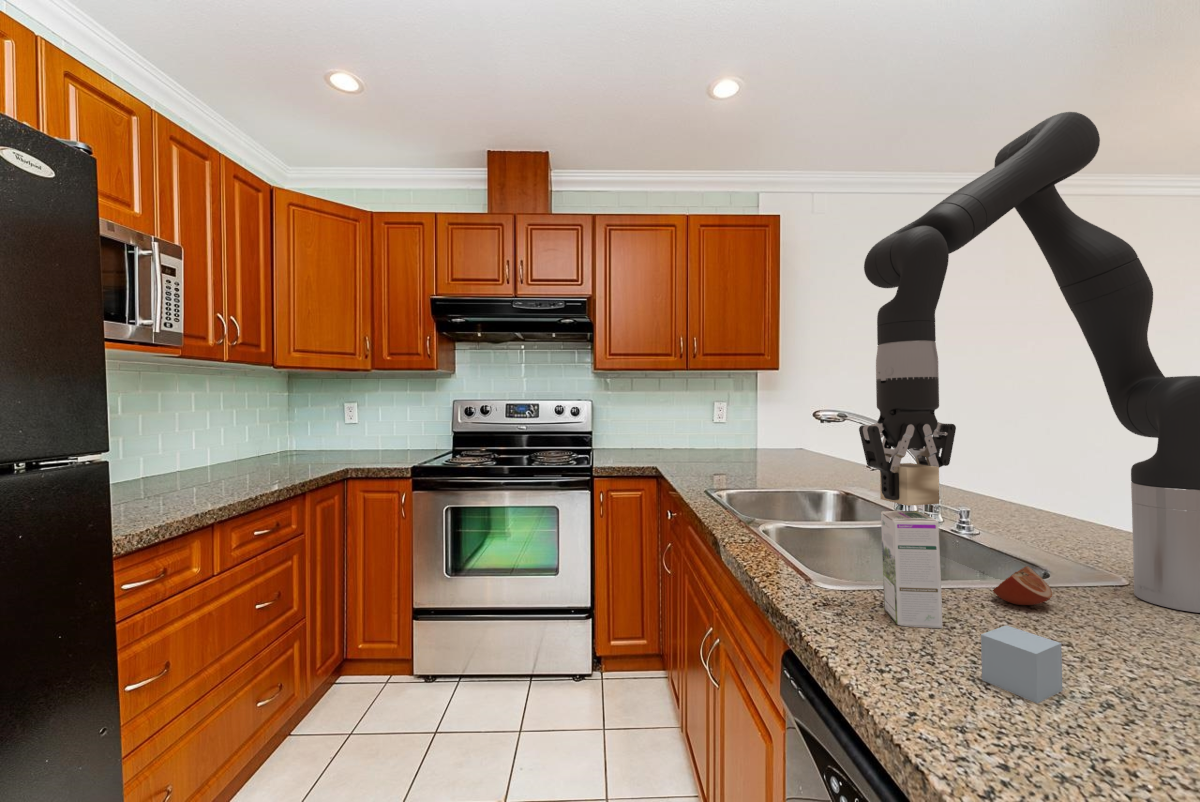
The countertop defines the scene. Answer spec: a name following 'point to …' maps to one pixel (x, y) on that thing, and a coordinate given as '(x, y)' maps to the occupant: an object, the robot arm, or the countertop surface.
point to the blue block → (1022, 663)
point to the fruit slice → (1024, 588)
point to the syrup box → (911, 568)
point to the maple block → (916, 485)
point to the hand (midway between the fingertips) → (908, 497)
